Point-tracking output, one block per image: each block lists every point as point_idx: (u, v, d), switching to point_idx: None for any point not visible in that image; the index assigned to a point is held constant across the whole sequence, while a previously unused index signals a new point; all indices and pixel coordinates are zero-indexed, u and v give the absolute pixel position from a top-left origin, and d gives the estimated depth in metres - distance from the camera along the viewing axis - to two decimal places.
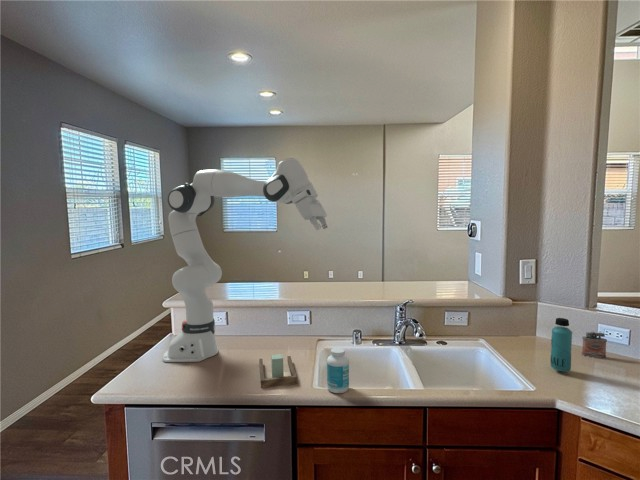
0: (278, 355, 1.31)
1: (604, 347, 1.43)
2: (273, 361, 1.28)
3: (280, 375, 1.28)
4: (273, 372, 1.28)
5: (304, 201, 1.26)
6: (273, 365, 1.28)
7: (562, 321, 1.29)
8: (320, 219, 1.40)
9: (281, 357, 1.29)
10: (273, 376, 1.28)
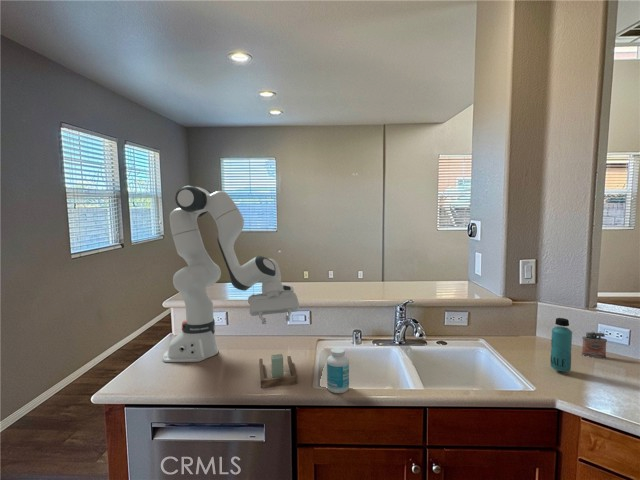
0: (278, 355, 1.31)
1: (604, 347, 1.43)
2: (273, 361, 1.28)
3: (280, 375, 1.28)
4: (273, 372, 1.28)
5: None
6: (273, 365, 1.28)
7: (562, 321, 1.29)
8: (262, 313, 1.44)
9: (281, 357, 1.29)
10: (273, 376, 1.28)
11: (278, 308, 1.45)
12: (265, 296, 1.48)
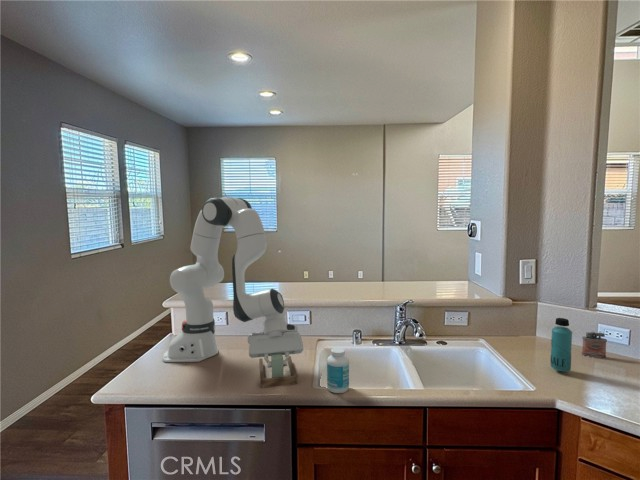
0: (278, 355, 1.31)
1: (604, 347, 1.43)
2: (273, 361, 1.28)
3: (280, 375, 1.28)
4: (273, 372, 1.28)
5: None
6: (273, 365, 1.28)
7: (562, 321, 1.29)
8: (268, 355, 1.31)
9: (281, 357, 1.29)
10: (273, 376, 1.28)
11: (280, 350, 1.32)
12: (266, 336, 1.35)
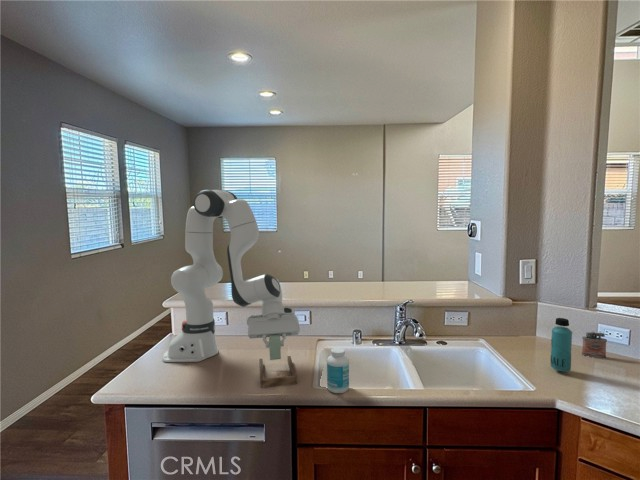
0: (275, 336, 1.38)
1: (604, 347, 1.43)
2: (271, 341, 1.35)
3: (277, 354, 1.36)
4: (270, 352, 1.35)
5: None
6: (271, 345, 1.35)
7: (562, 321, 1.29)
8: (266, 336, 1.38)
9: (278, 338, 1.36)
10: (271, 355, 1.35)
11: (278, 332, 1.39)
12: (265, 318, 1.42)
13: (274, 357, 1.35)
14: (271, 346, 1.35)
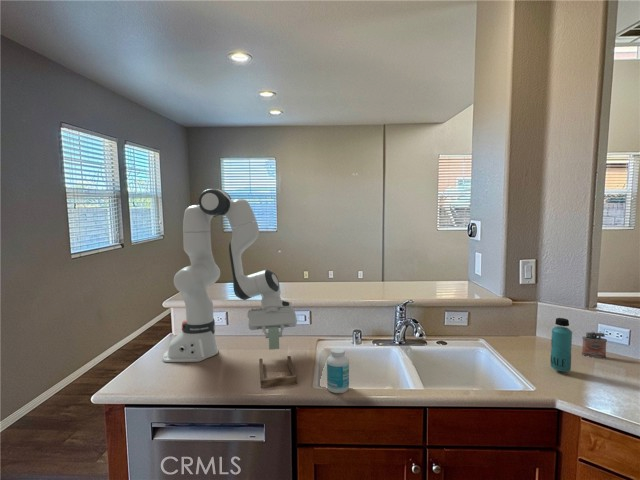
0: (274, 327, 1.48)
1: (604, 347, 1.43)
2: (270, 332, 1.45)
3: (276, 344, 1.46)
4: (269, 342, 1.45)
5: None
6: (270, 335, 1.45)
7: (562, 321, 1.29)
8: (265, 327, 1.49)
9: (277, 329, 1.46)
10: (270, 345, 1.45)
11: (276, 323, 1.49)
12: (264, 311, 1.52)
13: (273, 347, 1.46)
14: (270, 337, 1.45)
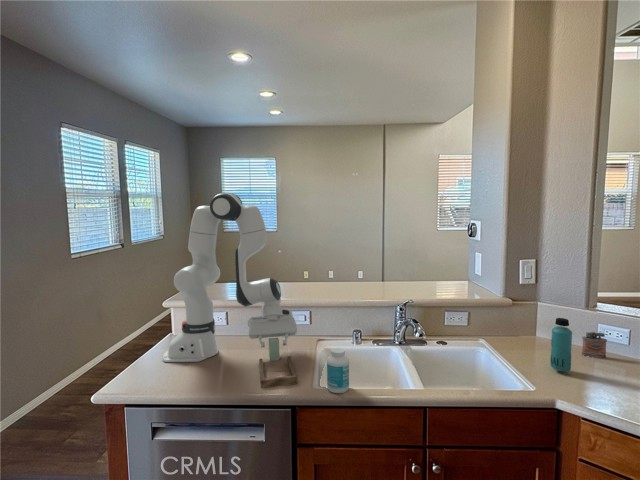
0: (274, 338, 1.49)
1: (604, 347, 1.43)
2: (270, 343, 1.45)
3: (276, 356, 1.46)
4: (270, 353, 1.46)
5: None
6: (270, 347, 1.45)
7: (562, 321, 1.29)
8: (261, 337, 1.48)
9: (277, 340, 1.47)
10: (270, 356, 1.46)
11: (276, 332, 1.49)
12: (264, 319, 1.52)
13: (273, 358, 1.46)
14: (270, 348, 1.45)
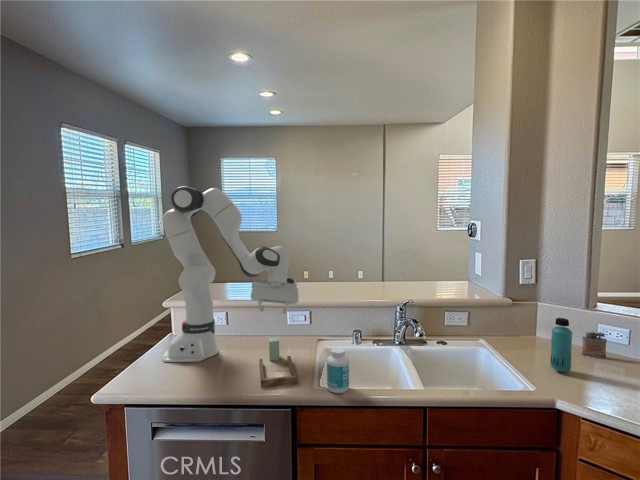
0: (274, 338, 1.48)
1: (604, 347, 1.43)
2: (270, 343, 1.45)
3: (276, 356, 1.46)
4: (270, 353, 1.46)
5: None
6: (270, 347, 1.45)
7: (562, 321, 1.29)
8: (261, 301, 1.50)
9: (277, 340, 1.47)
10: (270, 356, 1.46)
11: (277, 299, 1.50)
12: (268, 284, 1.53)
13: (273, 358, 1.46)
14: (270, 348, 1.45)
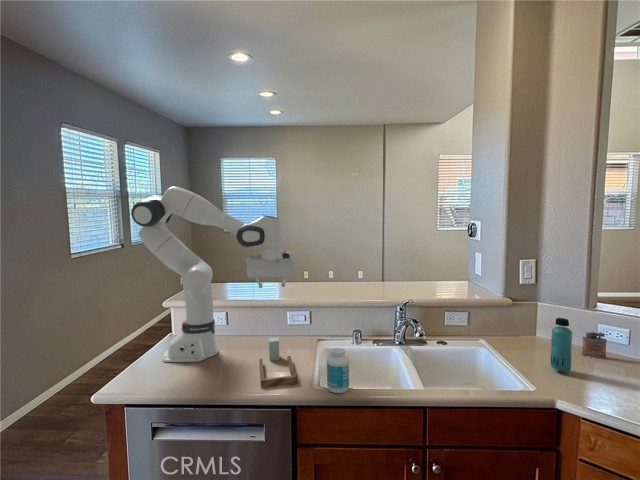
0: (274, 338, 1.48)
1: (604, 347, 1.43)
2: (270, 343, 1.45)
3: (276, 356, 1.46)
4: (270, 353, 1.46)
5: None
6: (270, 347, 1.45)
7: (562, 321, 1.29)
8: None
9: (277, 340, 1.47)
10: (270, 356, 1.46)
11: (275, 275, 1.48)
12: (263, 261, 1.47)
13: (273, 358, 1.46)
14: (270, 348, 1.45)
